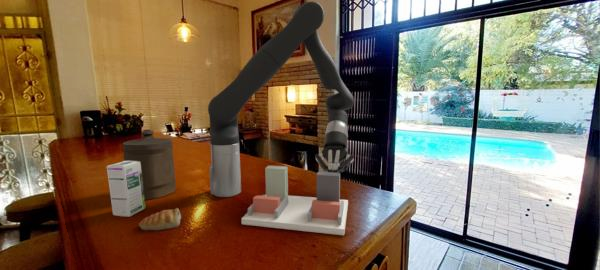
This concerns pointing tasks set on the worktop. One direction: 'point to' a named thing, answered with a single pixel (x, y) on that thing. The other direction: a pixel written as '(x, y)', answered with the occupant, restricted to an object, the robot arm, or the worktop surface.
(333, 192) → the grey upright block
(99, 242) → the worktop surface
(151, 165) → the grey canister
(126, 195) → the syrup box
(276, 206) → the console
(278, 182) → the pale green tall block
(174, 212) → the pastry
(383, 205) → the worktop surface
